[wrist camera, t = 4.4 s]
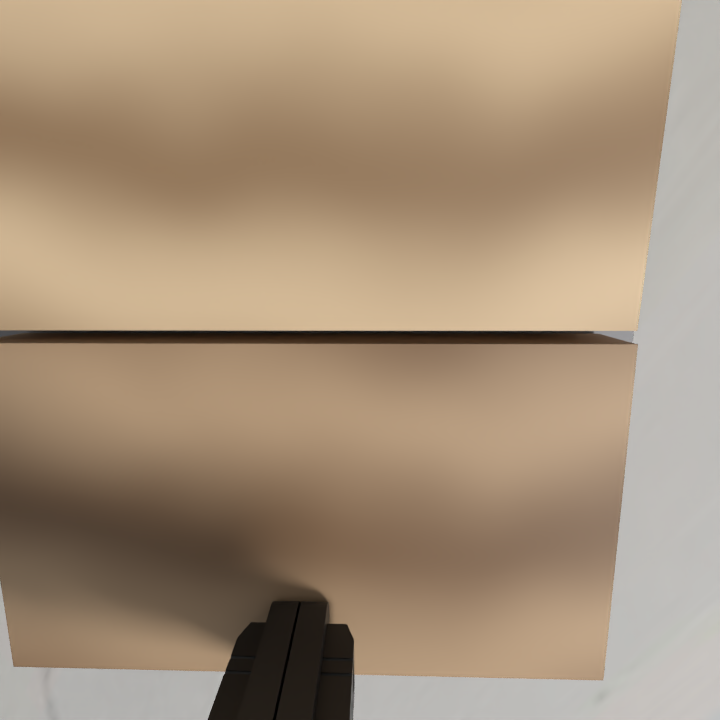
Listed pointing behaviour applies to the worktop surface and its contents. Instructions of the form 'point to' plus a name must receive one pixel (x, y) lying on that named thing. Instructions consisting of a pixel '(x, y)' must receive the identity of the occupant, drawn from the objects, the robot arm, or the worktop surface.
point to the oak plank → (330, 163)
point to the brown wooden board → (314, 496)
